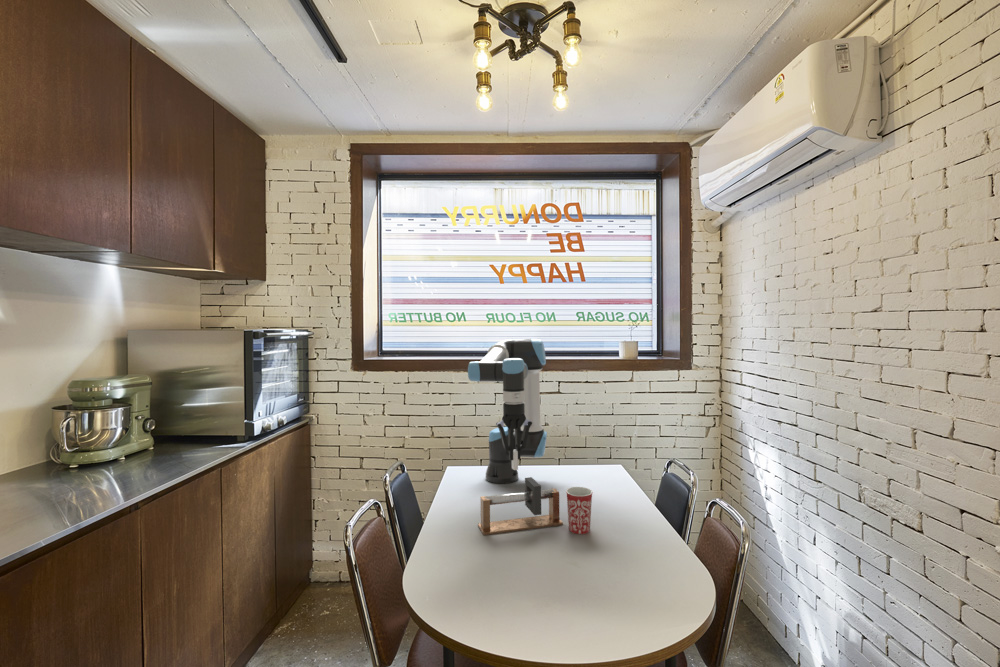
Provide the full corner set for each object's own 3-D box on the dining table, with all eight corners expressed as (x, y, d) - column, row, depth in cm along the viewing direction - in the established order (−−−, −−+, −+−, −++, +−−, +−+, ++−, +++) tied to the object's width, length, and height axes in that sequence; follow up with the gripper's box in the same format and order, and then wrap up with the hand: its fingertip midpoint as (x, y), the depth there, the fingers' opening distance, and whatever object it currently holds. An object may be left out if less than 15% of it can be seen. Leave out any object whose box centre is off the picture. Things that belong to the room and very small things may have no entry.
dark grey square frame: (534, 515, 164) (534, 486, 164) (525, 505, 174) (524, 477, 174) (541, 514, 165) (540, 485, 165) (531, 504, 175) (531, 477, 175)
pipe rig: (483, 535, 161) (483, 501, 160) (478, 525, 168) (477, 493, 168) (563, 524, 168) (562, 492, 168) (554, 516, 176) (554, 484, 176)
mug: (593, 536, 159) (593, 496, 159) (566, 534, 160) (565, 495, 160) (592, 521, 171) (591, 483, 171) (566, 519, 173) (566, 482, 173)
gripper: (498, 405, 162) (499, 474, 163) (534, 403, 165) (535, 470, 166) (493, 401, 169) (494, 467, 170) (527, 399, 173) (528, 463, 173)
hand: (514, 468), depth 168 cm, fingers closed
